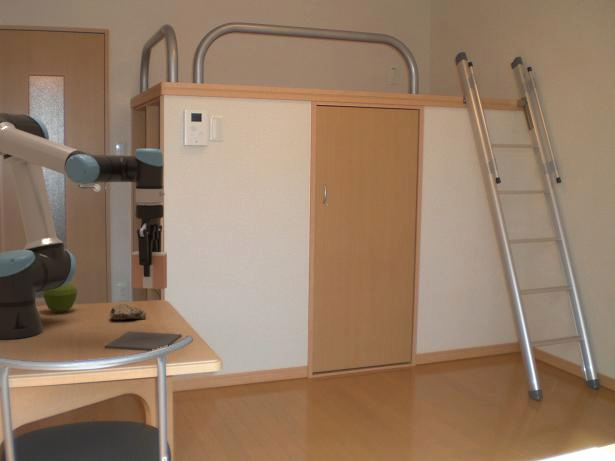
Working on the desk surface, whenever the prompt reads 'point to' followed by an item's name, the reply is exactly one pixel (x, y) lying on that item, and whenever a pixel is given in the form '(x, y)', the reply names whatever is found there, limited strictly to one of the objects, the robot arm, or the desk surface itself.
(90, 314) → the desk surface
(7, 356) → the desk surface
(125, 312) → the rock
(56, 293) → the apple
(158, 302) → the desk surface
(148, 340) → the mat
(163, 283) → the slab
